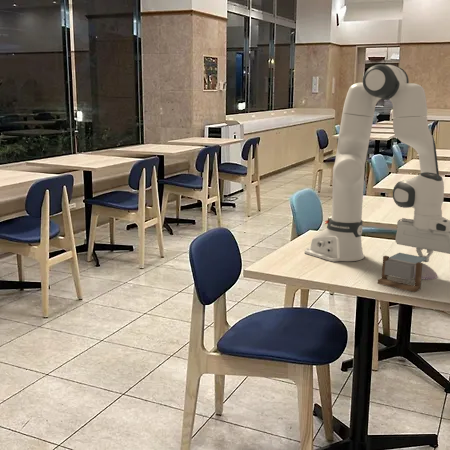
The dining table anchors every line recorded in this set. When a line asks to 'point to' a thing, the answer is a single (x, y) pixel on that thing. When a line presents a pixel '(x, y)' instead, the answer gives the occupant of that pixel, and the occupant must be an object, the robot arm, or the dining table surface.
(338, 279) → the dining table surface
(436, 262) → the dining table surface
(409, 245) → the robot arm
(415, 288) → the frame
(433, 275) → the seashell
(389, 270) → the trapdoor
